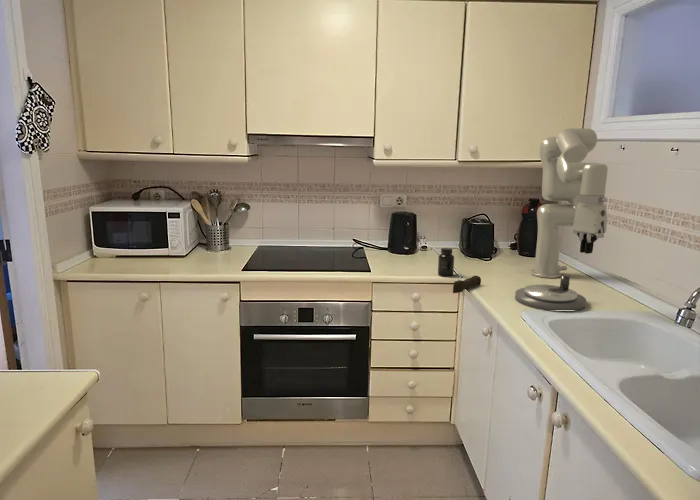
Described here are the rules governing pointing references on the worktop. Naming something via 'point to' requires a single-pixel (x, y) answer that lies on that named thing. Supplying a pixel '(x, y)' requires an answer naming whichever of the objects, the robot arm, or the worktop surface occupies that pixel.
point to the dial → (552, 292)
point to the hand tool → (466, 284)
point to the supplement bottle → (446, 263)
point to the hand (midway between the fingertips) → (586, 252)
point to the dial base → (539, 304)
